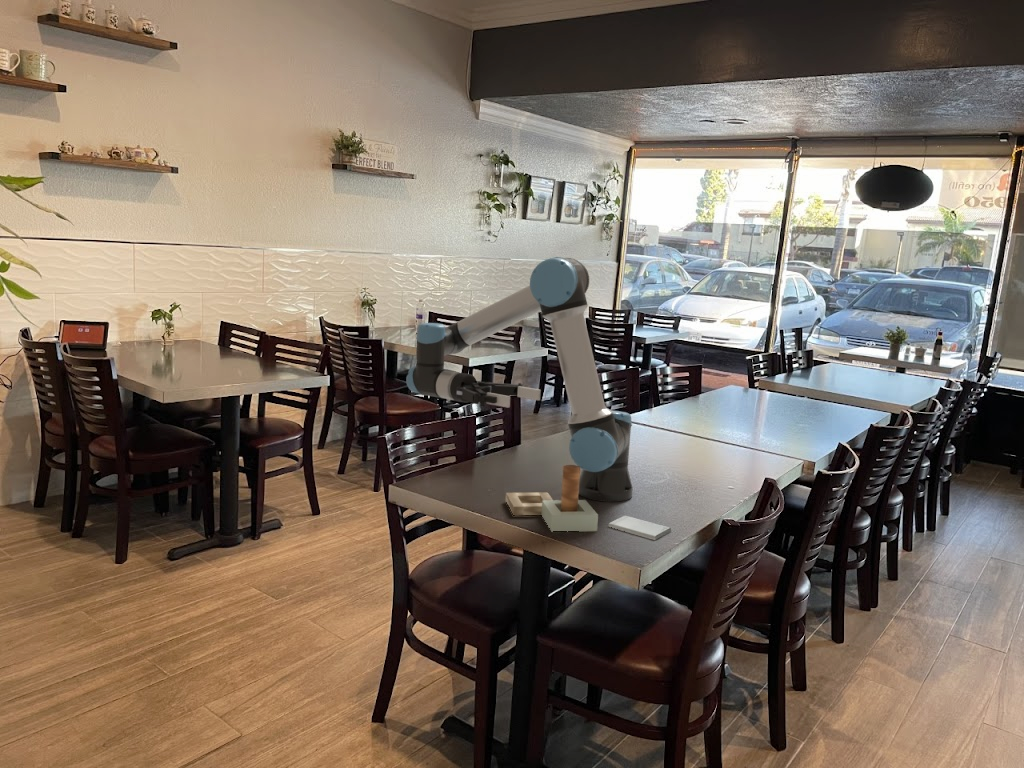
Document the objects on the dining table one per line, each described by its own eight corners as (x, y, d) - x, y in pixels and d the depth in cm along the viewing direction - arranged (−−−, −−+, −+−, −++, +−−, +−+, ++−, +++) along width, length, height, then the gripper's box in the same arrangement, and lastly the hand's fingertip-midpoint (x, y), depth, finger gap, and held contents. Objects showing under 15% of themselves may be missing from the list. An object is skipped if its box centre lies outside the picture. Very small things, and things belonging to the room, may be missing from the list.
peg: (574, 520, 191) (577, 464, 189) (578, 526, 187) (582, 469, 185) (558, 520, 190) (561, 464, 188) (562, 526, 186) (565, 469, 184)
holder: (547, 501, 204) (547, 492, 204) (556, 515, 194) (557, 506, 193) (505, 502, 202) (505, 492, 202) (513, 516, 192) (513, 506, 191)
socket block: (584, 515, 195) (585, 500, 194) (596, 531, 184) (598, 514, 184) (541, 516, 193) (542, 500, 192) (551, 531, 182) (552, 515, 182)
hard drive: (671, 527, 187) (625, 514, 194) (655, 536, 180) (608, 522, 188) (670, 533, 187) (625, 520, 194) (654, 542, 180) (608, 529, 188)
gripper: (485, 394, 217) (550, 406, 205) (426, 406, 197) (494, 420, 185) (486, 368, 216) (552, 378, 204) (427, 377, 195) (496, 389, 184)
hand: (524, 398), depth 194 cm, fingers open, 13 cm apart
